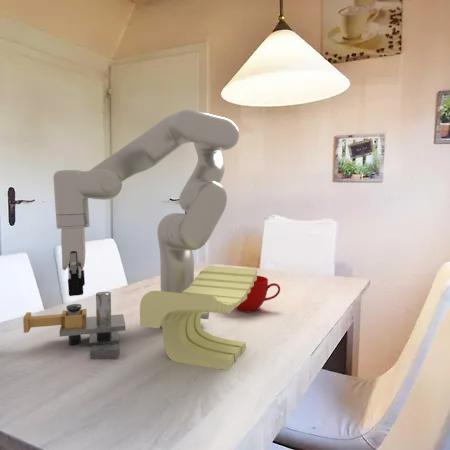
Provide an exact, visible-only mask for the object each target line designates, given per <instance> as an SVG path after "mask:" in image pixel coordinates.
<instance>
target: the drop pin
mask: <svg viewBox="0 0 450 450" xmlns="http://www.w3.org/2000/svg"><path fill="white" fill-rule="evenodd" d="M80 309H82V304H79V303H72V304H68V305H67V306H66V310H68V315H80ZM81 343H82V335H72V336H68V345H70V346H78V345H80V344H81Z"/></svg>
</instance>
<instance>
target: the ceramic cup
mask: <svg viewBox="0 0 450 450" xmlns="http://www.w3.org/2000/svg"><path fill="white" fill-rule="evenodd" d="M273 286H274V287H277V291H276V293H275V294H274V295H272V296H269V297H267V292H268V290H269V289H270V288H271V287H273ZM280 292H281V287H280V285H279V284H278V283H276V282H274V283H270V284H269V280H268V277H265V276H263V275H262V276H261V275H257V280H256V281H255V282H254V286H253V287H252V288H251V287H250V293H249V294H247V299H246V300H245V301H243V302H241V304H240V305H238V306H237V307H236V309H237V310H238V311H240V312H244V313H246V312H247V313H252V312H256V311H258V309H260V307H262V305H263V303H264V302H266V301H270V300H272V299H275V298H276V297H277V296H278V295H279V294H280Z"/></svg>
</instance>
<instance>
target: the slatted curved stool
mask: <svg viewBox="0 0 450 450" xmlns="http://www.w3.org/2000/svg"><path fill="white" fill-rule="evenodd" d="M257 273H258V269H256V268H242V267H231V266H230V267H229V266H216V265H215V266H213V265H212V266H208V267H204V268H203V269H202V270H200V271H199V273H198V275H197V276H196V277H194V282H192V283H191V284H190V286H189V288H187V289H186V290H184V291H183V292H182V293H174V292H164V291H161V290H149V291H147V293H145V294H144V295H143V296H142V298H141V300H140V303H139V326H140V327H147V328H154V329H160V328H161V326H162V328H161V329H162V336H163V346H164V350H165V353H166V355H167V356H168V358H169V359H170V360H171V361H173V362H175V363H182V364H188V365H194V366H199V367H204V368H209V369H217V370H224V371H229V370H231V369H230V368H232V366H233V365H234V363H235V362H236V361H237V360H238V359H239V358H240V357H241V355H242V354H243V353H244V352H245V351H246V350H247V345H246V341H241V340H235V339H228V338H224V337H219V336H216V335H213V334H211V333H209V332H207V331H205V329H204V328H203V327H202V324H201V320H202V318H201V314H202V312H209V313H219V314H230V313H231V312H232V311H234V310H235V308H236V307H237V306H238V305H240V304H241V302H243V301H245V300H246V299H247V294H249V293H250V287H251V288H252V287H253V286H254V282H255V281H256V280H257V276H258V274H257ZM236 309H237V308H236Z"/></svg>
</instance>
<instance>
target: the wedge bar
mask: <svg viewBox="0 0 450 450" xmlns="http://www.w3.org/2000/svg"><path fill="white" fill-rule="evenodd" d="M120 346H121V345H120V344H119V345H117V344H116V345H115V344H108V345H98V346H91V348H90V349H89V360H118V358H119V357H120V355H121V354H120V353H121V351H120V350H121V349H120V348H121V347H120Z"/></svg>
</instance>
